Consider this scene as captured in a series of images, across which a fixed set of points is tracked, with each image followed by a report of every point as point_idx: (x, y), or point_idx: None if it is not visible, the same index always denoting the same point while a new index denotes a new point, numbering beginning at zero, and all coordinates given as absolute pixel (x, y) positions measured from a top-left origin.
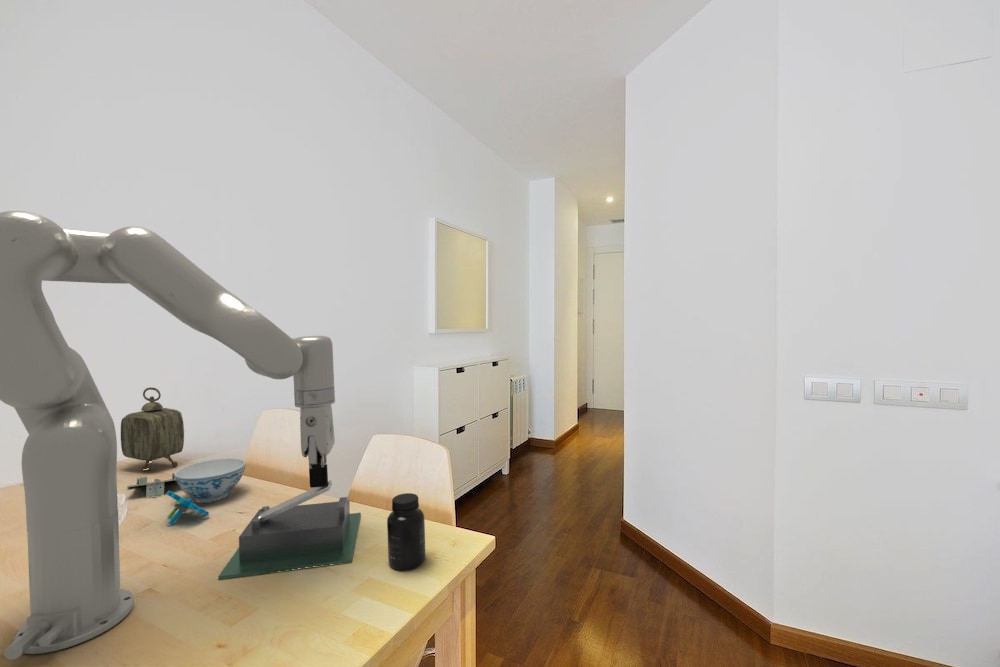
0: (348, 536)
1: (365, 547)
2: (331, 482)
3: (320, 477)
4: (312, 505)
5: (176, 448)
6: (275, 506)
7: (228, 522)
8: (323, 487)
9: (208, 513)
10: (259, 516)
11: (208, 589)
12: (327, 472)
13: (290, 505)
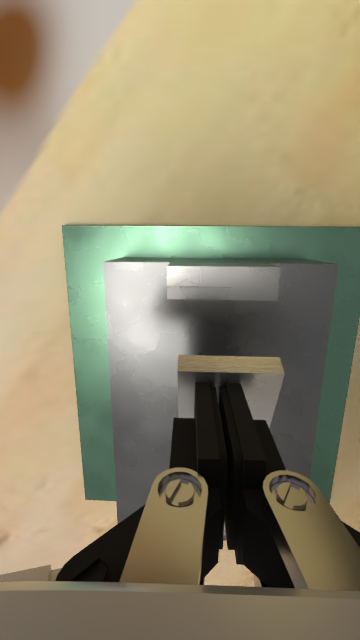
0: (227, 250)
1: (293, 192)
2: (181, 361)
3: (271, 444)
4: (123, 392)
5: None
6: None
7: (55, 551)
8: (257, 393)
9: None
10: None
11: (355, 509)
12: (199, 415)
13: None
